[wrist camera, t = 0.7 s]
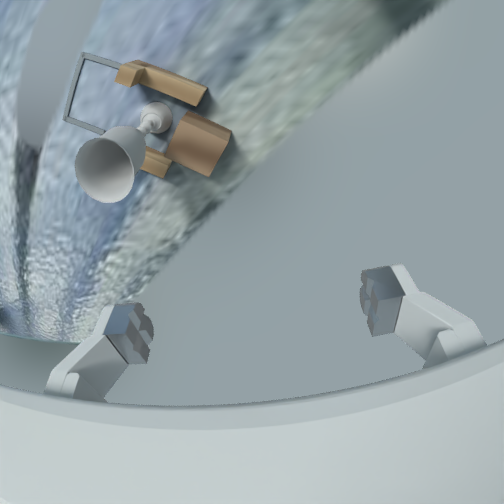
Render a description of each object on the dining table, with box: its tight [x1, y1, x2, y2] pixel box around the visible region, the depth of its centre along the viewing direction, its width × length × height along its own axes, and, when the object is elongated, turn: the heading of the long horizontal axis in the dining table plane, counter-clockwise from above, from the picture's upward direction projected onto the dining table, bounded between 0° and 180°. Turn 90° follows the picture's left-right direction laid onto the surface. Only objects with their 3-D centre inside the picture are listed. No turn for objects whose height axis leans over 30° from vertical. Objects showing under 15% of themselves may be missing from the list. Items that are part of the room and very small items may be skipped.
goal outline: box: [63, 52, 122, 135], centre depth 36 cm, size 12×8×1 cm
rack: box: [114, 60, 208, 178], centre depth 37 cm, size 15×11×6 cm
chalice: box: [75, 102, 172, 203], centre depth 33 cm, size 7×7×18 cm
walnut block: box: [164, 111, 231, 177], centre depth 40 cm, size 6×7×5 cm
